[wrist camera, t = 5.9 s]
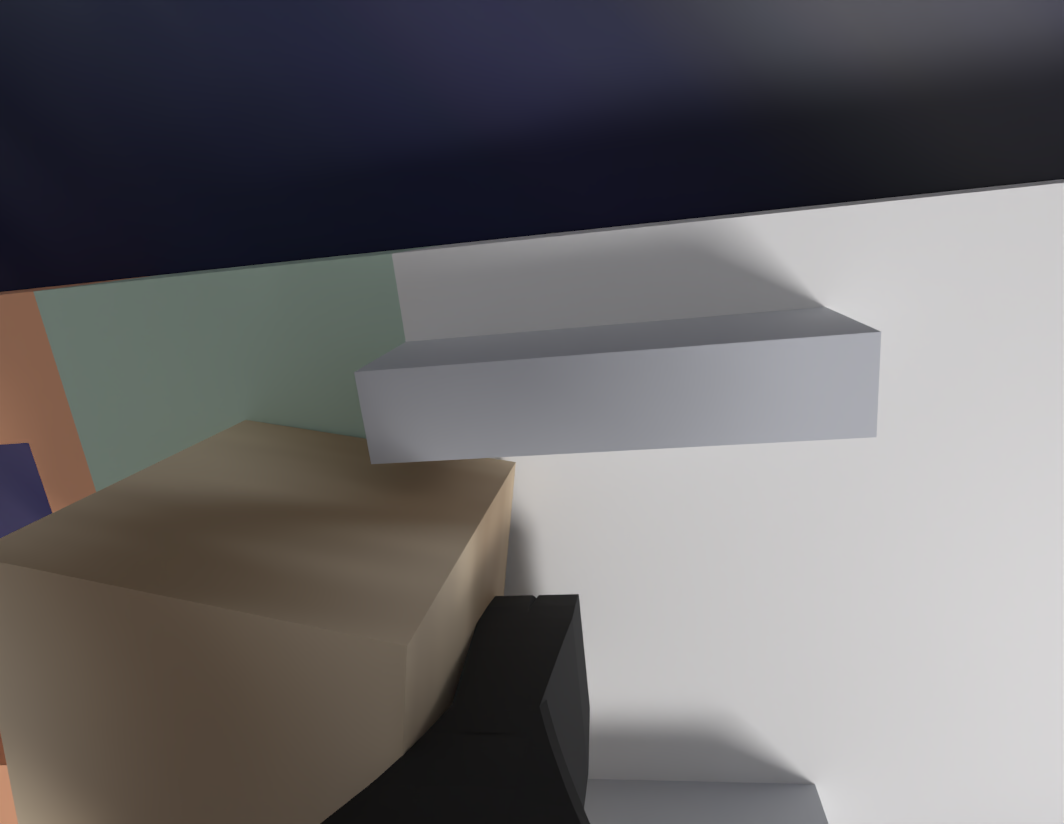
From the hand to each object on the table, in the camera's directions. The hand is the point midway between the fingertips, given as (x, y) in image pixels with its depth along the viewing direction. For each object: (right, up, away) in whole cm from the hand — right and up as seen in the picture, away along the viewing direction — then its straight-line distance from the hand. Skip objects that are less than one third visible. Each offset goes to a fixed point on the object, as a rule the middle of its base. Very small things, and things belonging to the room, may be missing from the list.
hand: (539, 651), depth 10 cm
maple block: (-3, +1, +1) cm, 3 cm away
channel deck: (-1, +1, +4) cm, 4 cm away
